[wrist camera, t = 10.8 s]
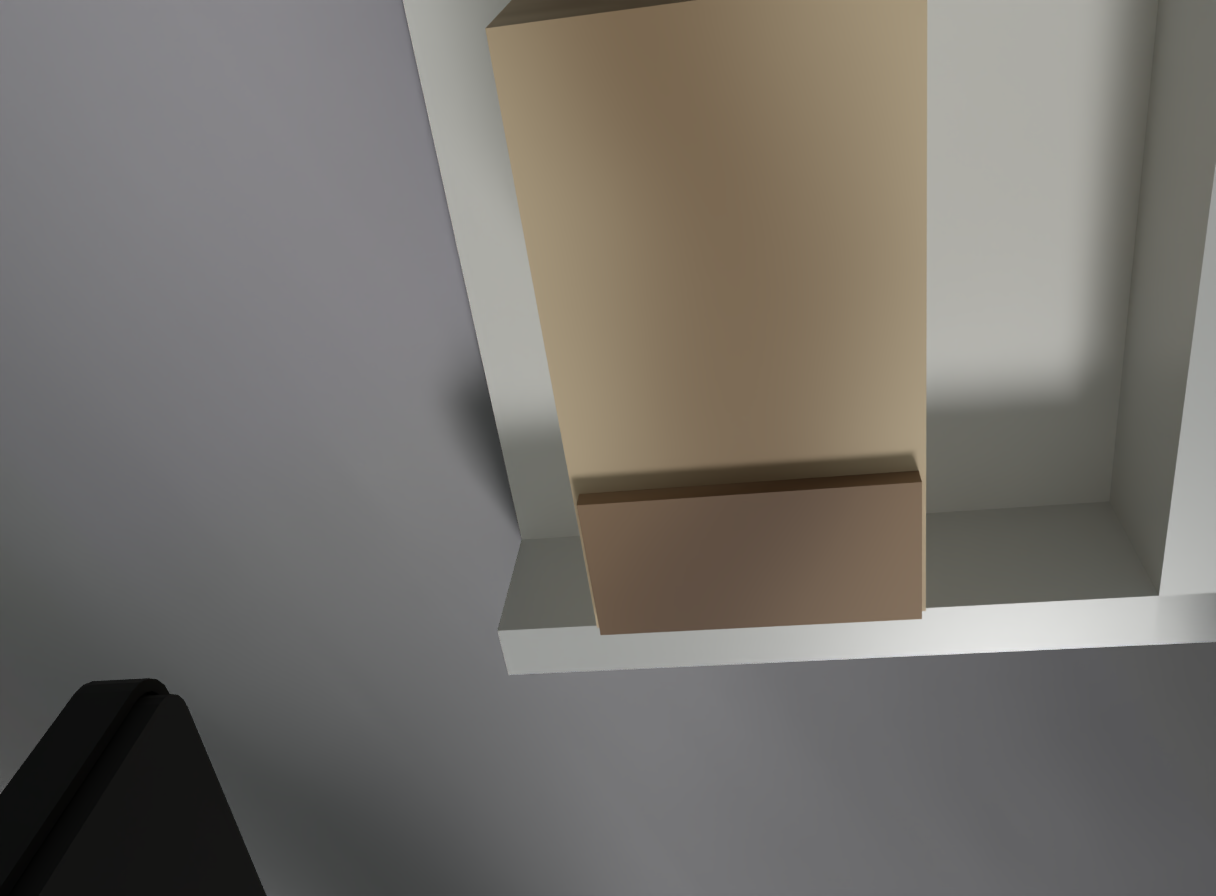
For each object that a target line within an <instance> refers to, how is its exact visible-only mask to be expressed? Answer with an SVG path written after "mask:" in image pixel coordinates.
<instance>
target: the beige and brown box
mask: <svg viewBox="0 0 1216 896" xmlns="http://www.w3.org/2000/svg"><path fill="white" fill-rule="evenodd" d="M485 30H486V35H487V41H488V46H489V51H490V57H491V62H492V67H493V73H494V78H495V84H496V89H497V94H498V100H499V105H500V110H501V116H502V121H503V126H504V132H505V137H506V143H507V148H508V153H509V159H510V164H511V169H512V175H513V180H514V185H515V191H516V196H517V202H518V207H519V212H520V218H521V223H522V228H523V234H524V239H525V244H526V250H527V255H528V261H529V266H530V271H531V277H532V282H533V287H534V293H535V298H536V303H537V309H538V314H539V320H540V325H541V330H542V336H543V341H544V346H545V352H546V357H547V362H548V368H549V373H550V379H551V384H552V389H553V395H554V400H555V405H556V411H557V416H558V421H559V427H560V432H561V438H562V443H563V448H564V454H565V459H566V464H567V470H568V475H569V480H570V486H571V491H572V497H573V502H574V507H575V513H576V518H577V523H578V529H579V534H580V539H581V545H582V550H583V556H584V561H585V566H586V572H587V577H588V582H589V588H590V593H591V598H592V604H593V609H594V615H595V620H596V625H597V628H599V629H600V635H616V634H636V633H656V632H675V631H695V630H715V629H735V628H755V627H774V626H794V625H814V624H834V623H854V622H874V621H893V620H913V619H922V611H926V338H927V0H511V1H510V2H509V3H508V4H507V6H506V7H505V8H504V9H503V10H502V11H501V12H500V13H499V14H498V15H497V16H496V17H495V18H494V19H493V21H492V22H491V23H490V24H489V25H488V26H487V27H486V28H485Z"/></svg>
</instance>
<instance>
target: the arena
mask: <svg viewBox="0 0 1216 896" xmlns="http://www.w3.org/2000/svg"><path fill="white" fill-rule="evenodd" d="M510 1H511V0H403V4H404V9H405V13H406V18H407V22H408V27H409V31H410V36H411V40H412V45H413V49H414V54H415V58H416V63H417V68H418V72H419V77H420V81H421V86H422V90H423V95H424V99H425V104H426V108H427V113H428V117H429V122H430V126H431V131H432V136H433V140H434V145H435V149H436V154H437V158H438V163H439V167H440V172H441V176H442V181H443V185H444V190H445V194H446V199H447V203H448V208H449V213H450V217H451V222H452V226H453V231H454V235H455V240H456V244H457V249H458V253H459V258H460V262H461V267H462V271H463V276H464V281H465V285H466V290H467V294H468V299H469V303H470V308H471V312H472V317H473V321H474V326H475V330H476V335H477V339H478V344H479V349H480V353H481V358H482V362H483V367H484V371H485V376H486V380H487V385H488V389H489V394H490V398H491V403H492V407H493V412H494V417H495V421H496V426H497V430H498V435H499V439H500V444H501V448H502V453H503V457H504V462H505V466H506V471H507V475H508V480H509V485H510V489H511V494H512V498H513V503H514V507H515V512H516V516H517V521H518V525H519V530H520V534H521V539H522V540H521V544H520V548H519V552H518V556H517V559H516V563H515V567H514V571H513V574H512V578H511V582H510V586H509V589H508V593H507V597H506V601H505V605H504V608H503V612H502V616H501V620H500V623H499V627H498V635H499V639H500V643H501V647H502V651H503V655H504V659H505V663H506V667H507V671H508V675H519V674H540V673H562V672H583V671H604V670H626V669H647V668H668V667H689V666H711V665H732V664H753V663H774V662H796V661H817V660H838V659H860V658H881V657H902V656H923V655H945V654H966V653H987V652H1009V651H1030V650H1051V649H1072V648H1094V647H1115V646H1136V645H1157V644H1179V643H1200V642H1216V0H927V338H926V611H922V619H913V620H893V621H874V622H854V623H834V624H814V625H794V626H774V627H755V628H735V629H715V630H695V631H675V632H656V633H636V634H616V635H600V629H599V628H597V625H596V620H595V615H594V609H593V604H592V598H591V593H590V588H589V582H588V577H587V572H586V566H585V561H584V556H583V550H582V545H581V539H580V534H579V529H578V523H577V518H576V513H575V507H574V502H573V497H572V491H571V486H570V480H569V475H568V470H567V464H566V459H565V454H564V448H563V443H562V438H561V432H560V427H559V421H558V416H557V411H556V405H555V400H554V395H553V389H552V384H551V379H550V373H549V368H548V362H547V357H546V352H545V346H544V341H543V336H542V330H541V325H540V320H539V314H538V309H537V303H536V298H535V293H534V287H533V282H532V277H531V271H530V266H529V261H528V255H527V250H526V244H525V239H524V234H523V228H522V223H521V218H520V212H519V207H518V202H517V196H516V191H515V185H514V180H513V175H512V169H511V164H510V159H509V153H508V148H507V143H506V137H505V132H504V126H503V121H502V116H501V110H500V105H499V100H498V94H497V89H496V84H495V78H494V73H493V67H492V62H491V57H490V51H489V46H488V41H487V35H486V30H485V28H486V27H487V26H488V25H489V24H490V23H491V22H492V21H493V19H494V18H495V17H496V16H497V15H498V14H499V13H500V12H501V11H502V10H503V9H504V8H505V7H506V6H507V4H508V3H509V2H510Z"/></svg>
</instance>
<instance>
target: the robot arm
mask: <svg viewBox="0 0 1216 896" xmlns="http://www.w3.org/2000/svg"><path fill="white" fill-rule="evenodd" d="M0 896H266V893H265V891H264V889H263V886H262V884H261V882H260V879H259V877H258V874H257V872H256V870H255V867H254V865H253V862H252V860H251V858H250V855H249V853H248V850H247V848H246V846H245V843H244V841H243V838H242V836H241V834H240V831H239V829H238V826H237V824H236V822H235V819H234V817H233V815H232V812H231V810H230V807H229V805H228V803H227V800H226V798H225V795H224V793H223V791H222V788H221V786H220V783H219V781H218V779H217V776H216V774H215V771H214V769H213V767H212V764H211V762H210V759H209V757H208V755H207V752H206V750H205V747H204V745H203V743H202V740H201V738H200V736H199V733H198V731H197V728H196V726H195V724H194V721H193V719H192V716H191V714H190V712H189V709H188V707H187V705H186V703H185V702H184V700H183V699H182V698H181V697H180V696H178V695H173V694H169V692H168V690H167V689H166V687H165V685H164V684H162V683H161V682H160V681H158V680H157V679H149V678H148V679H129V680H110V681H92V682H90V683H87V684H85V685H83V686H82V687H81V688H80V689H79V690H78V691H77V692H76V693H75V694H74V695H73V697H72V698H71V699H70V701H69V702H68V703H67V705H66V706H65V707H64V709H63V710H62V711H61V713H60V714H59V716H58V717H57V718H56V720H55V721H54V722H53V724H52V725H51V726H50V728H49V729H48V731H47V732H46V733H45V735H44V736H43V737H42V739H41V740H40V741H39V743H38V744H37V745H36V747H35V748H34V750H33V751H32V752H31V754H30V755H29V756H28V758H27V759H26V760H25V762H24V763H23V764H22V766H21V767H20V769H19V770H18V771H17V773H16V774H15V775H14V777H13V778H12V779H11V781H10V782H9V784H8V785H7V786H6V788H5V789H4V790H3V792H2V793H1V794H0Z"/></svg>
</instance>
